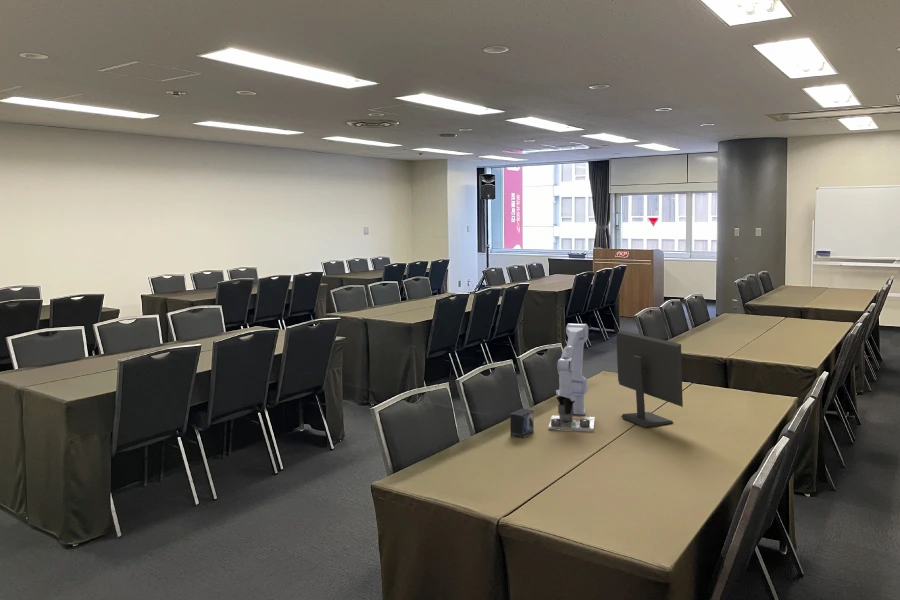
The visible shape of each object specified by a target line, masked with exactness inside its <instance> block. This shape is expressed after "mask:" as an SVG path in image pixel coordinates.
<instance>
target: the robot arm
mask: <svg viewBox="0 0 900 600" xmlns="http://www.w3.org/2000/svg"><path fill="white" fill-rule="evenodd" d="M565 333H566V336H567V337H568V338H567V343H566V344H567V345H565V347H564V348H563V350H562V354H561V357H560V358H559V359H558V360H557V363H556V367H557V368H556V369H557V374H558V375H559V376H558V380H559V384H558V385H559V386H558V387H559V389H555V394H556V395H557V396H556V399H557V402H558V404H564V405H565V412H566V414H570V413H571V409H572V406H573V414H572V415H585V414H586V408H585V395H586V394H587V393H588V387H589V386H588V379H587V378H586V377H585V376H584V375H583V359H584V346H585V342H587V341H588V338H589V326H588V324H587V323H567V325H566V327H565Z"/></svg>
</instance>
